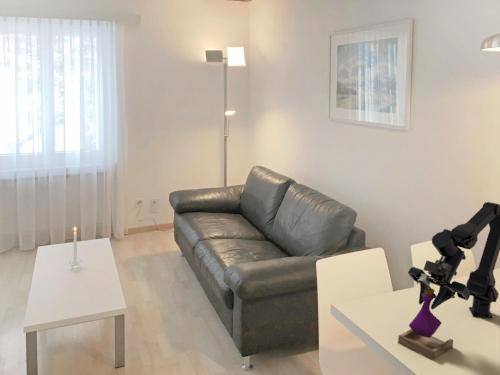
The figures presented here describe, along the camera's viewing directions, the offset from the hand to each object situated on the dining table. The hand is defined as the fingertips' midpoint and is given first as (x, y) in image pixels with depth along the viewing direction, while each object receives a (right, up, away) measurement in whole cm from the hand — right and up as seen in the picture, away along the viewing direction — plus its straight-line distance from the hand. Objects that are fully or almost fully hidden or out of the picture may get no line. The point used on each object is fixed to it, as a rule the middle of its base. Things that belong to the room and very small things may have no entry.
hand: (425, 306), depth 149 cm
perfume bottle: (+1, -10, +3) cm, 10 cm away
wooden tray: (+1, -13, +3) cm, 13 cm away
